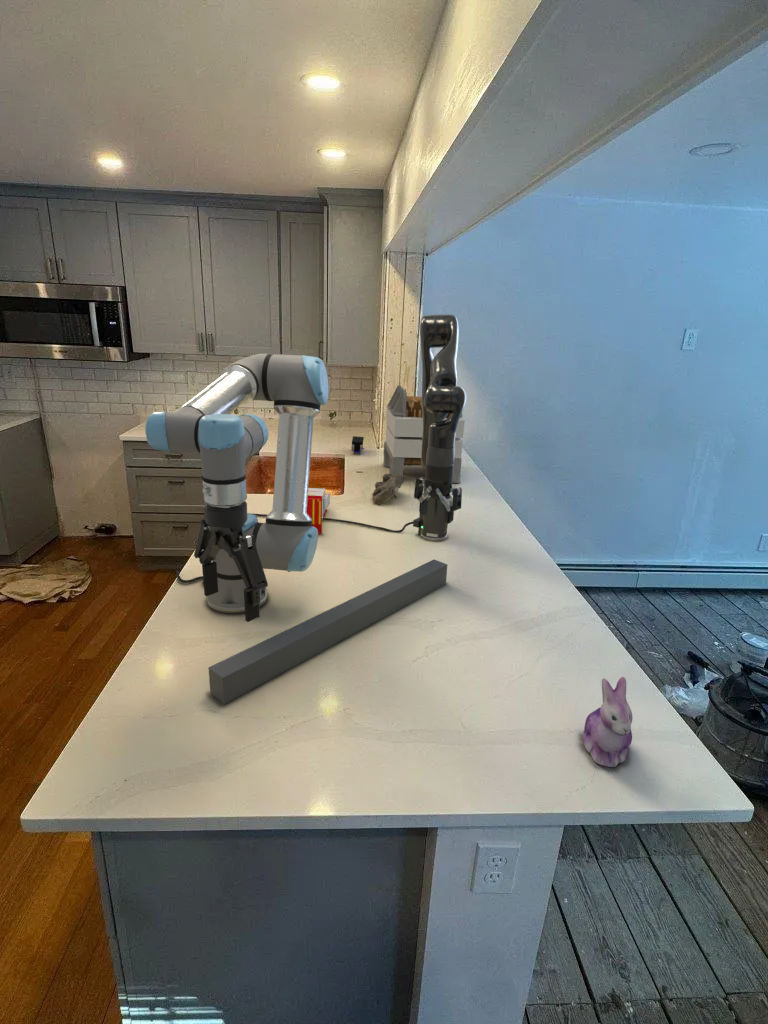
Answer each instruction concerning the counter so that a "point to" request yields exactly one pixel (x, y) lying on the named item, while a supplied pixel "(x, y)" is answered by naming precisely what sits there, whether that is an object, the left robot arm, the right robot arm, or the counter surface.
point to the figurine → (609, 726)
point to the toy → (317, 506)
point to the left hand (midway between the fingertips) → (231, 605)
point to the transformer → (411, 434)
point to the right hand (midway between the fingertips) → (435, 518)
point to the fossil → (387, 487)
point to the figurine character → (357, 444)
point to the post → (320, 632)
